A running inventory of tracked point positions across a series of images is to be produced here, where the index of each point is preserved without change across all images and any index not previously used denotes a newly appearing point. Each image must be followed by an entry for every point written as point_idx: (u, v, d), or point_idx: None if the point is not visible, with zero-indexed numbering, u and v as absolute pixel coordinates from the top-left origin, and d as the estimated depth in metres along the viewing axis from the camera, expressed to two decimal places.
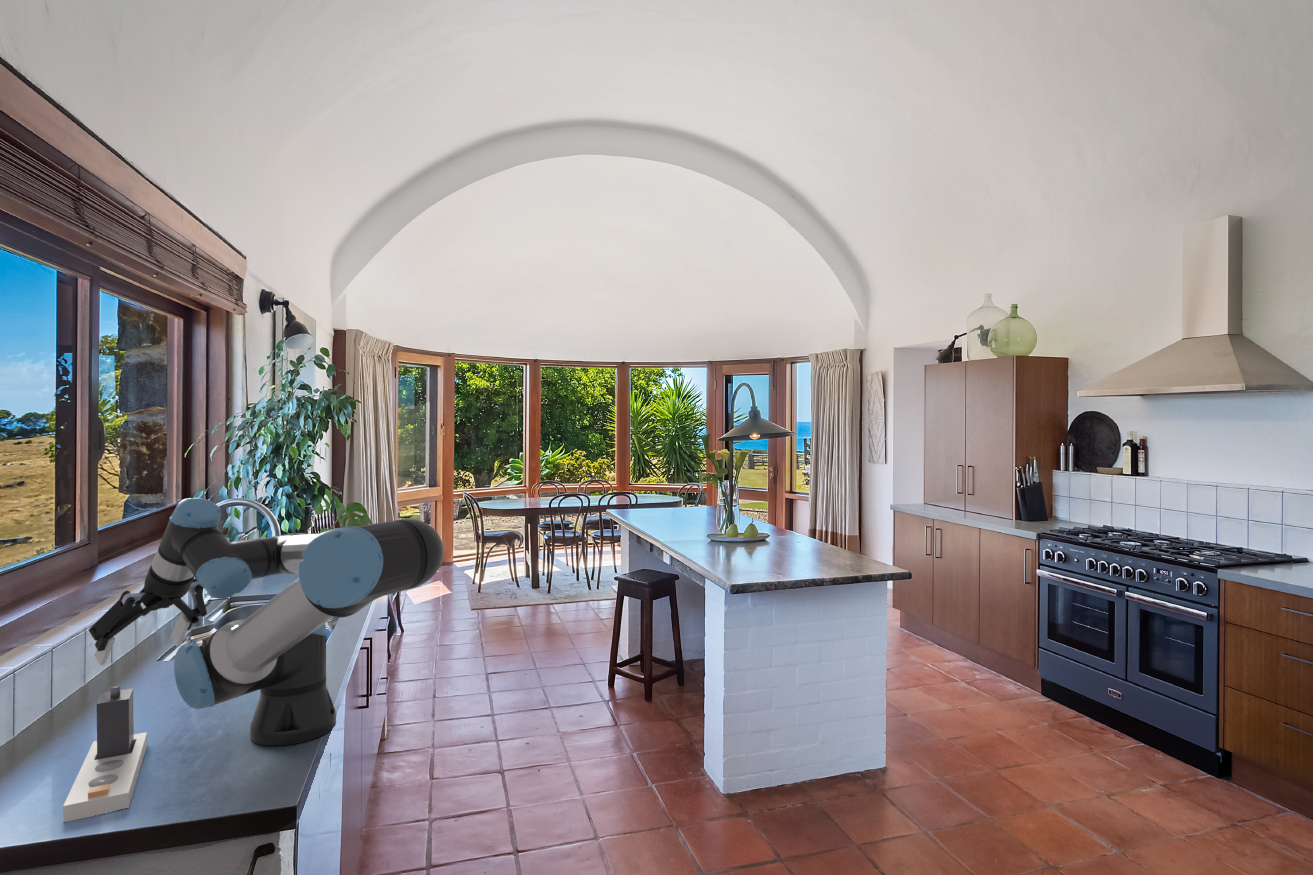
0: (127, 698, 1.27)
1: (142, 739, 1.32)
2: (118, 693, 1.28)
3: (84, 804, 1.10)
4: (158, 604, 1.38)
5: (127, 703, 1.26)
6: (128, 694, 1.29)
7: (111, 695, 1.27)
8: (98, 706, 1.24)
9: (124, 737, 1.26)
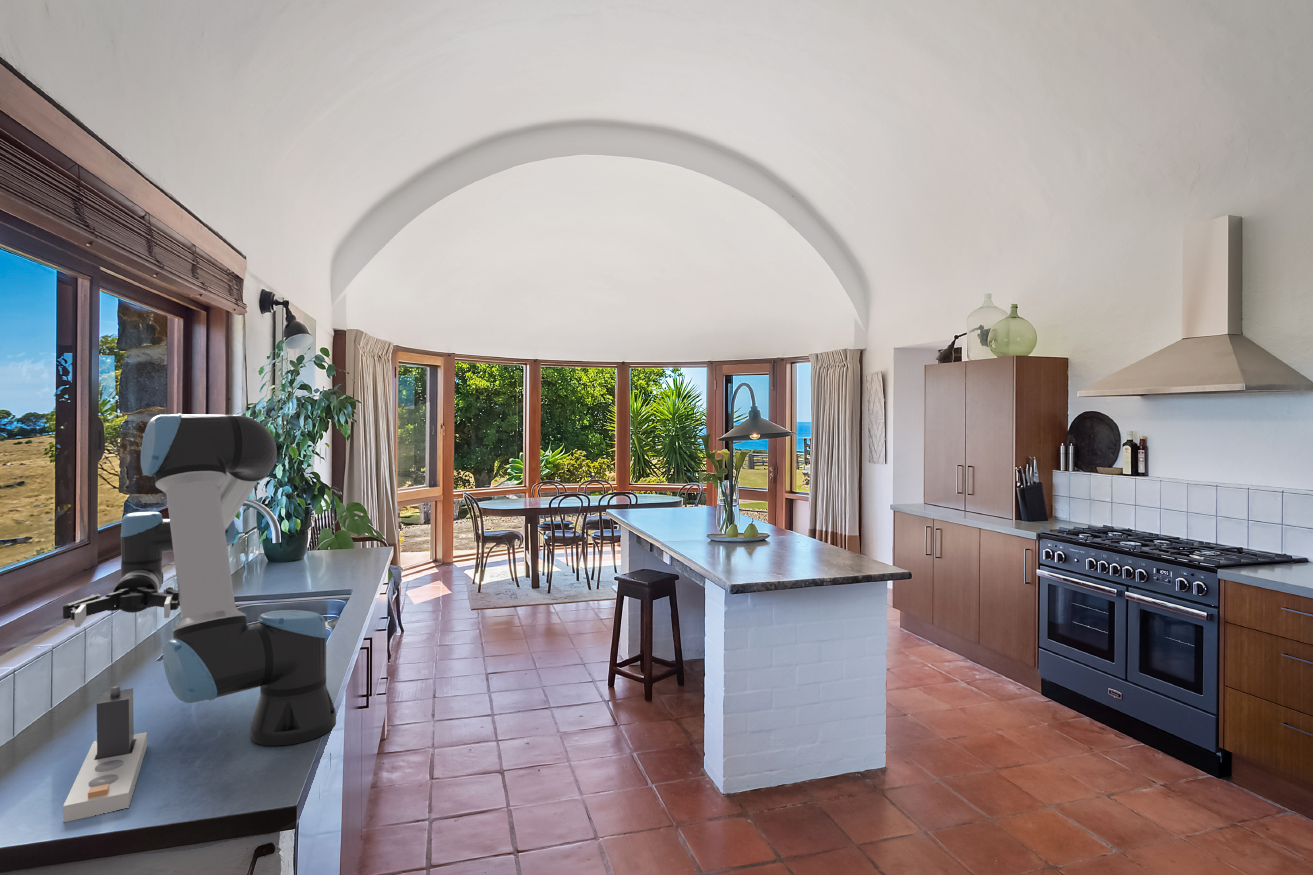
0: (127, 698, 1.27)
1: (142, 739, 1.32)
2: (118, 693, 1.28)
3: (84, 804, 1.10)
4: (123, 589, 1.48)
5: (127, 703, 1.26)
6: (128, 694, 1.29)
7: (111, 695, 1.27)
8: (98, 706, 1.24)
9: (124, 737, 1.26)
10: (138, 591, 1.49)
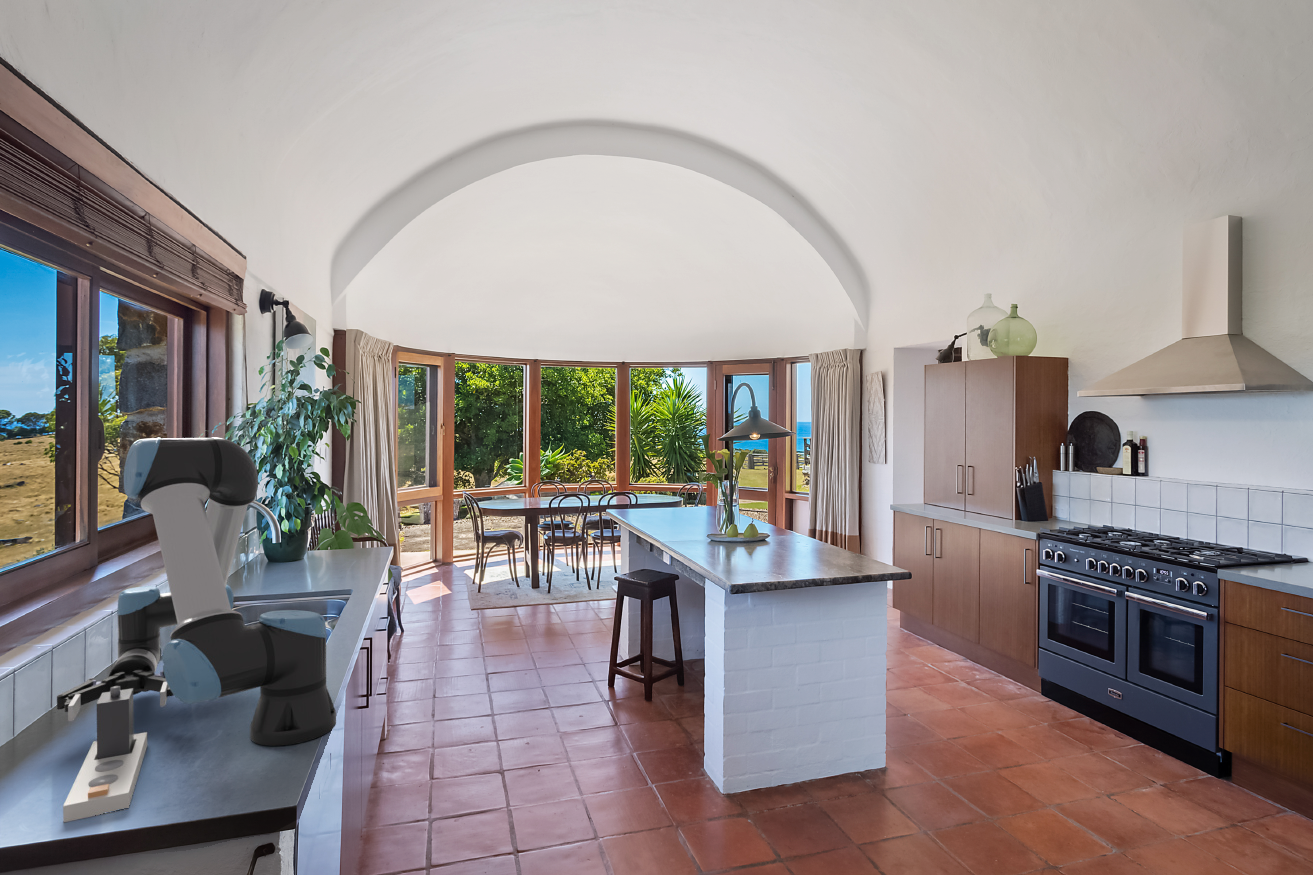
0: (127, 698, 1.27)
1: (142, 739, 1.32)
2: (118, 693, 1.28)
3: (84, 804, 1.10)
4: (119, 673, 1.44)
5: (127, 703, 1.26)
6: (128, 694, 1.29)
7: (111, 695, 1.27)
8: (98, 706, 1.24)
9: (124, 737, 1.26)
10: (134, 674, 1.45)
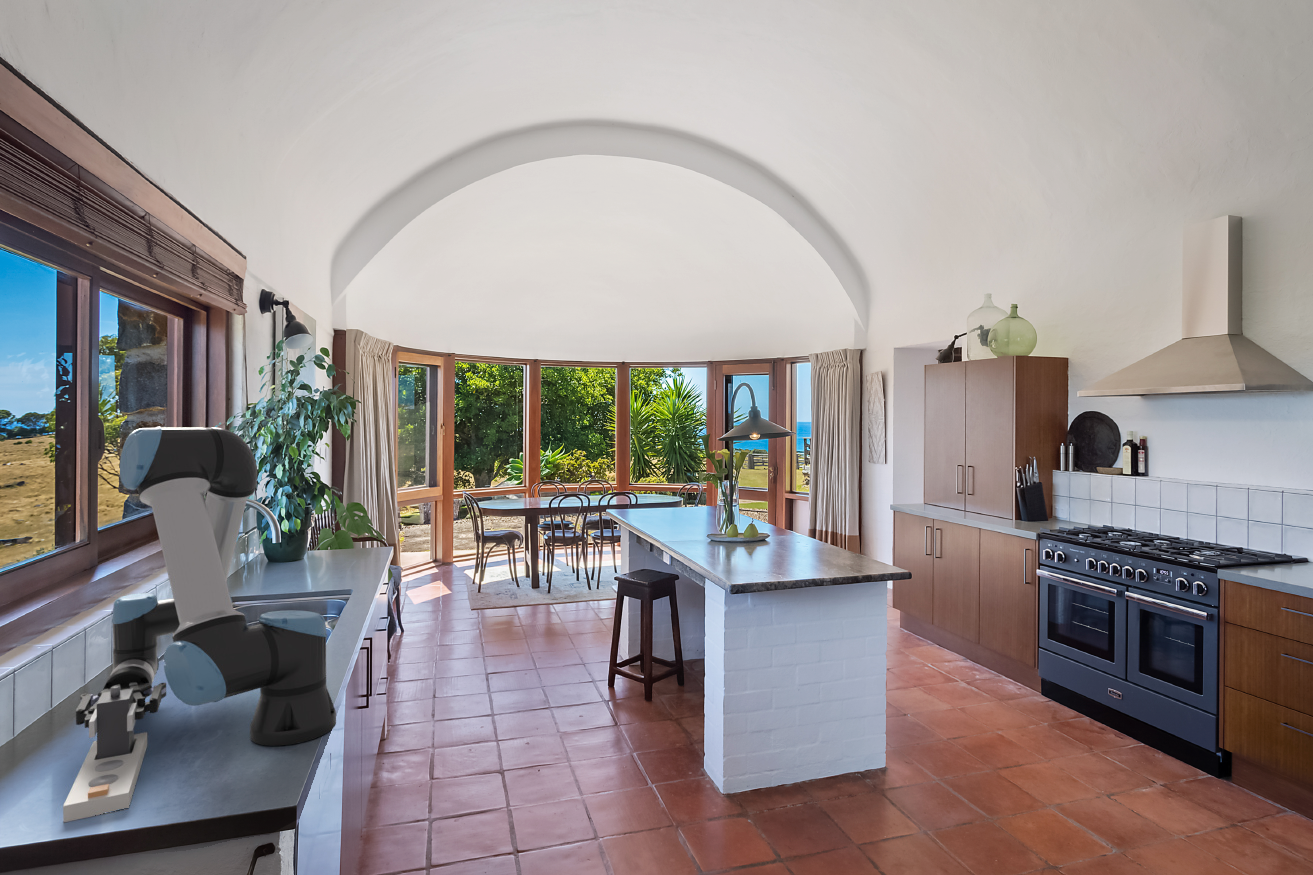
0: (127, 698, 1.27)
1: (142, 739, 1.32)
2: (118, 693, 1.28)
3: (84, 804, 1.10)
4: None
5: (127, 703, 1.26)
6: (128, 694, 1.29)
7: (111, 695, 1.27)
8: (98, 706, 1.24)
9: (124, 737, 1.26)
10: None
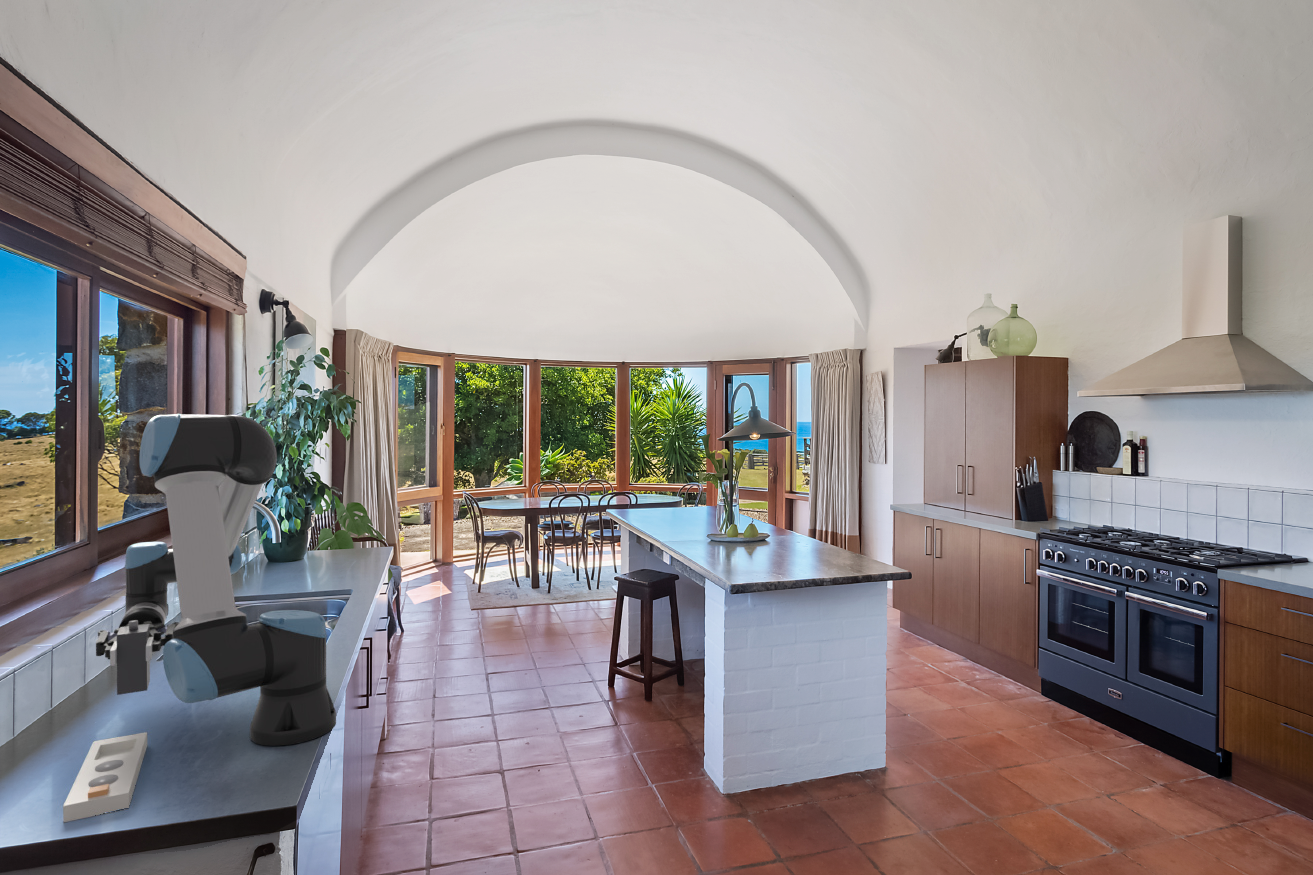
0: (145, 631, 1.34)
1: (142, 739, 1.32)
2: (136, 626, 1.35)
3: (84, 804, 1.10)
4: None
5: (145, 635, 1.34)
6: (145, 628, 1.36)
7: (129, 628, 1.35)
8: (118, 637, 1.32)
9: (142, 667, 1.34)
10: None
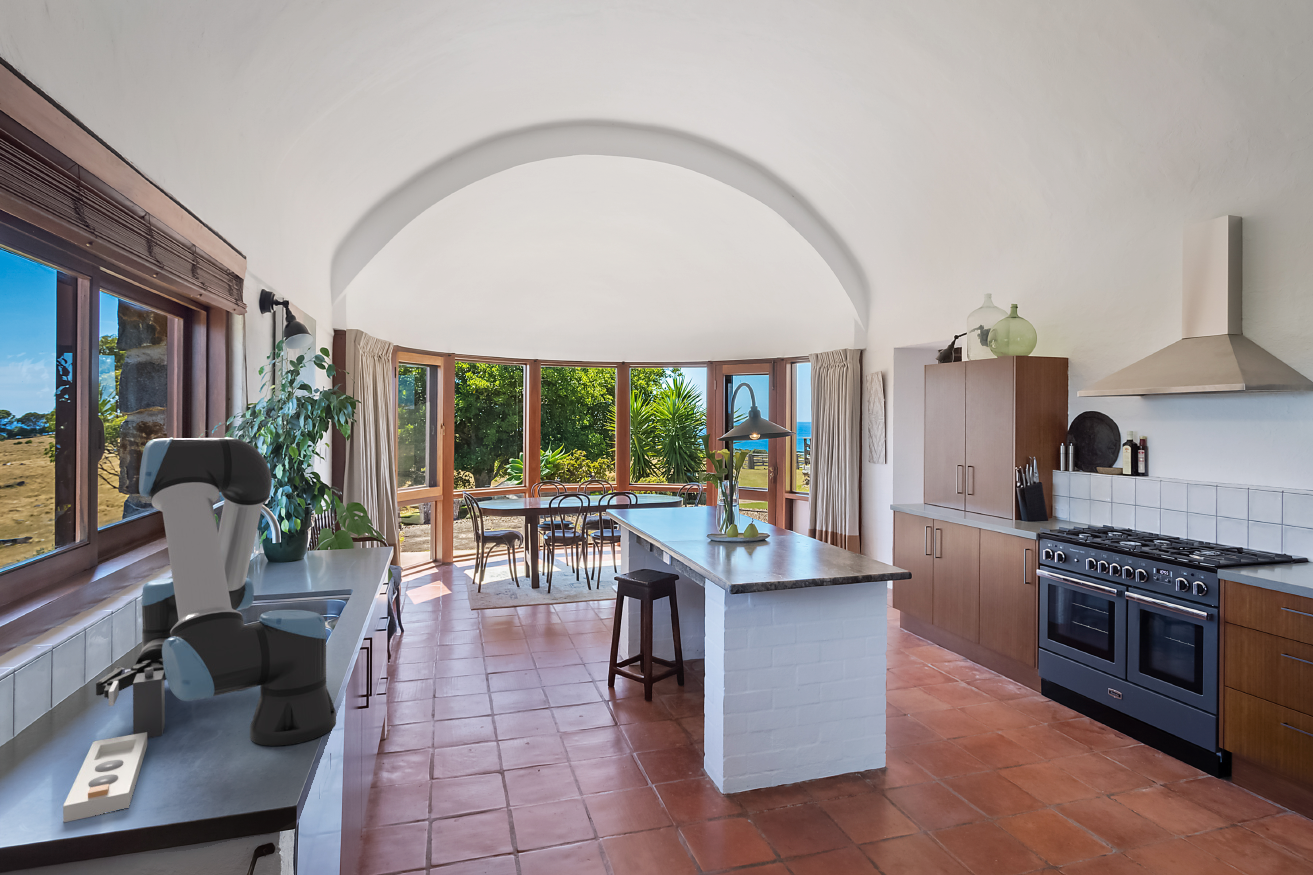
0: (160, 678, 1.40)
1: (142, 739, 1.32)
2: (151, 674, 1.41)
3: (84, 804, 1.10)
4: (146, 661, 1.50)
5: (160, 683, 1.40)
6: (160, 675, 1.42)
7: (145, 675, 1.40)
8: (134, 685, 1.37)
9: (157, 713, 1.39)
10: (160, 662, 1.51)
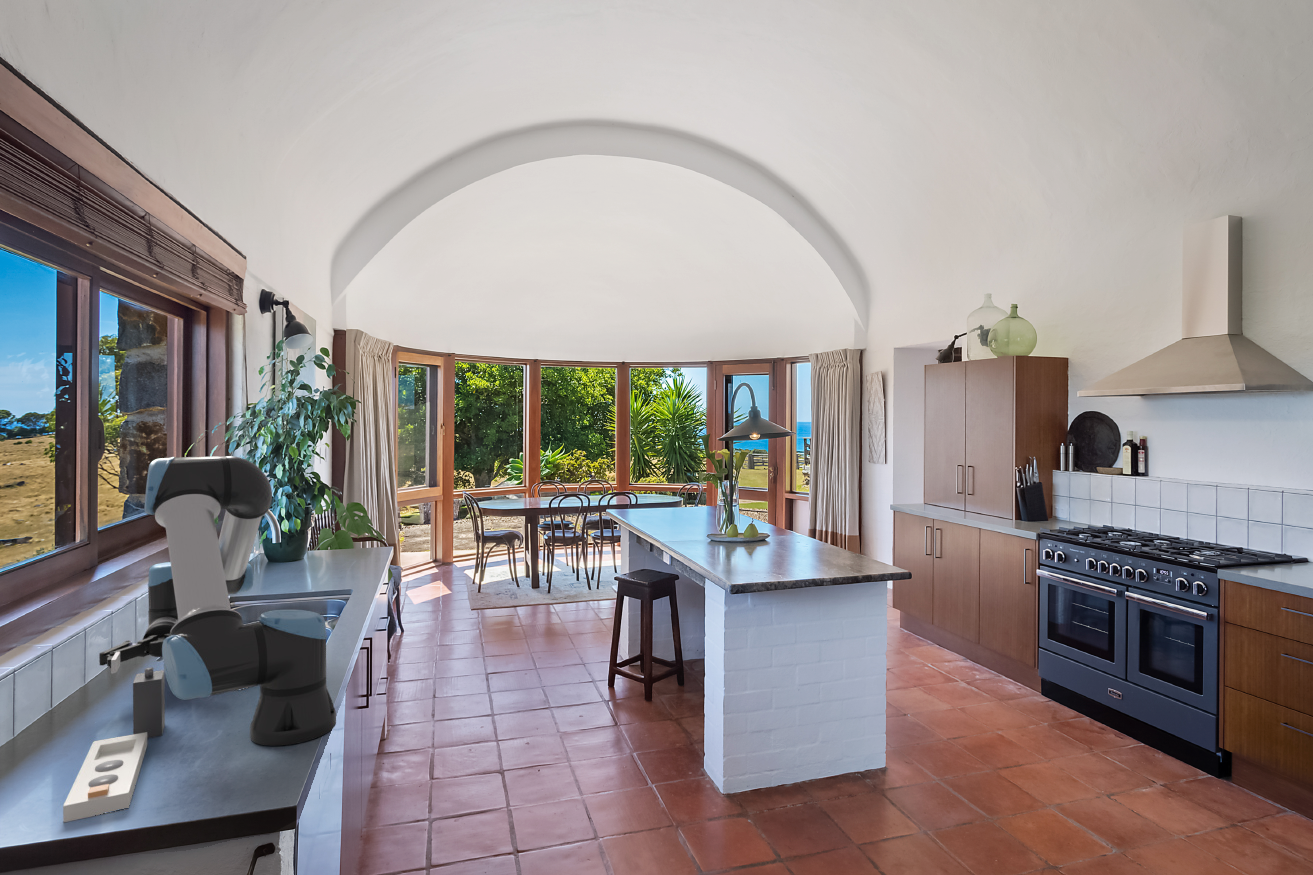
0: (160, 678, 1.40)
1: (142, 739, 1.32)
2: (151, 674, 1.41)
3: (84, 804, 1.10)
4: (152, 636, 1.61)
5: (160, 683, 1.40)
6: (160, 675, 1.42)
7: (145, 675, 1.40)
8: (134, 685, 1.37)
9: (157, 713, 1.39)
10: (166, 637, 1.62)
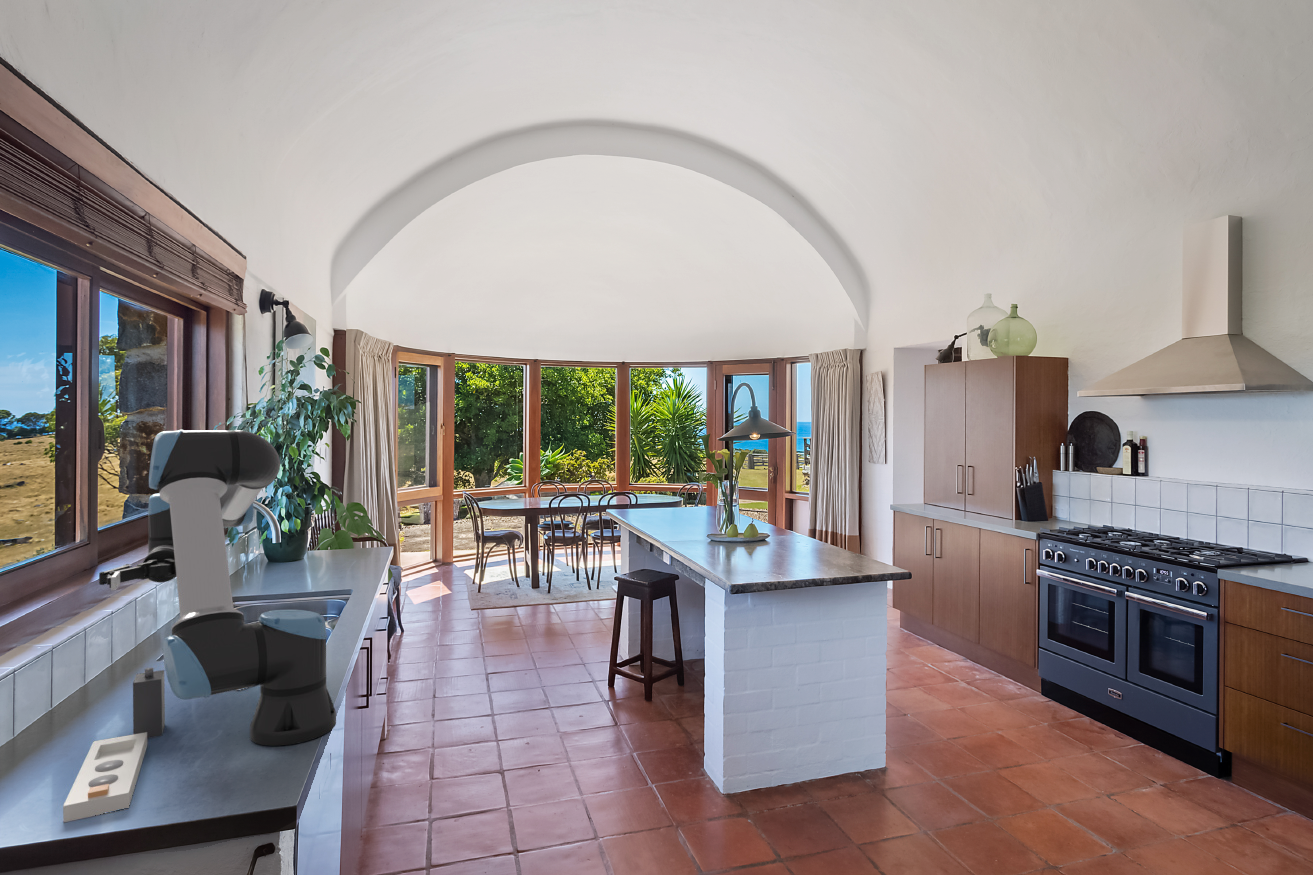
0: (160, 678, 1.40)
1: (142, 739, 1.32)
2: (151, 674, 1.41)
3: (84, 804, 1.10)
4: (152, 560, 1.61)
5: (160, 683, 1.40)
6: (160, 675, 1.42)
7: (145, 675, 1.40)
8: (134, 685, 1.37)
9: (157, 713, 1.39)
10: (166, 562, 1.62)
